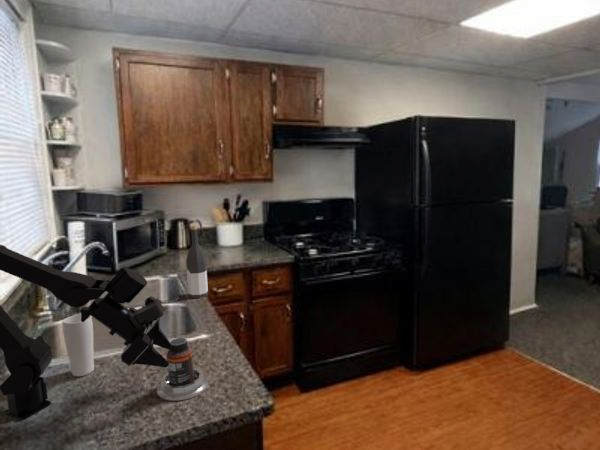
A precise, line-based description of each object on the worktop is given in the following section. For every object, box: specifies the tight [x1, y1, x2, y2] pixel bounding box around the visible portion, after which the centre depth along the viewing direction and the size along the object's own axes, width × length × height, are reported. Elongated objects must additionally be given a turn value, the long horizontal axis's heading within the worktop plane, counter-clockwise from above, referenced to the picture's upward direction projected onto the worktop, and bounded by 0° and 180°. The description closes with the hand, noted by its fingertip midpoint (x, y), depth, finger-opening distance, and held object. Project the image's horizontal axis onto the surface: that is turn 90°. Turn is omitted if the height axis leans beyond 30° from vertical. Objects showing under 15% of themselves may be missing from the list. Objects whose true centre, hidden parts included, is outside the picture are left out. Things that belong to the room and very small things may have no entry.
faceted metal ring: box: [156, 367, 209, 402], centre depth 95 cm, size 12×12×2 cm
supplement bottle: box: [166, 337, 195, 386], centre depth 94 cm, size 6×6×11 cm
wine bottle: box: [185, 225, 209, 299], centre depth 163 cm, size 8×8×30 cm
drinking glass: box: [62, 313, 95, 377], centre depth 102 cm, size 7×7×15 cm
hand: (169, 356), depth 93 cm, fingers open, 9 cm apart
